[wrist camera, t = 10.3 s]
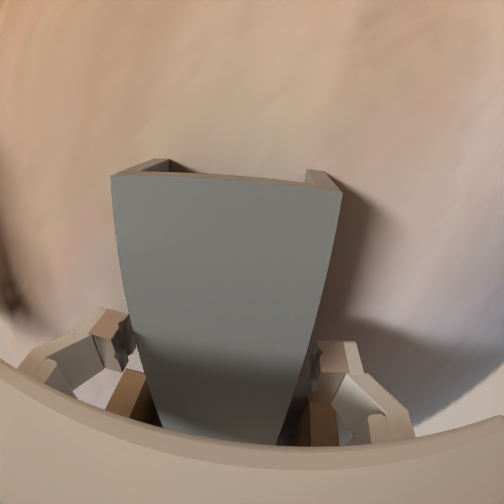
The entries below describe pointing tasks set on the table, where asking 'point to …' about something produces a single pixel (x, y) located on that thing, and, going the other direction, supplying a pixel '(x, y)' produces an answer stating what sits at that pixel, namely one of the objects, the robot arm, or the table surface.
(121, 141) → the table surface
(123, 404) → the wooden arch
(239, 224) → the grey channel riser
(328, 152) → the table surface
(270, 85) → the table surface
